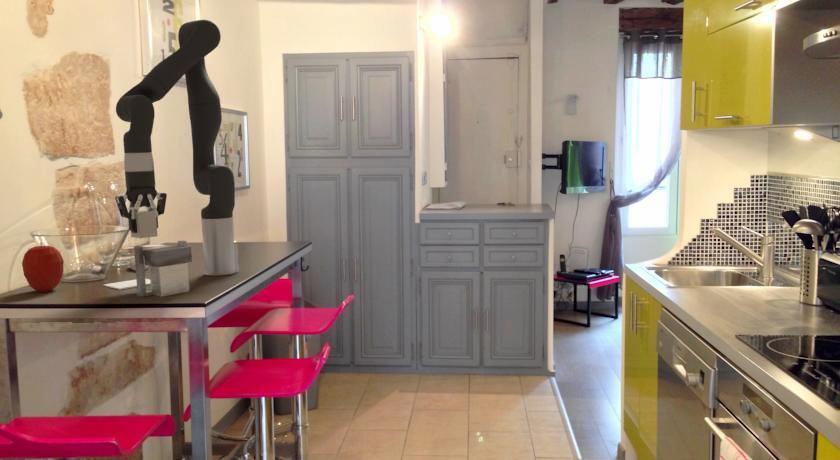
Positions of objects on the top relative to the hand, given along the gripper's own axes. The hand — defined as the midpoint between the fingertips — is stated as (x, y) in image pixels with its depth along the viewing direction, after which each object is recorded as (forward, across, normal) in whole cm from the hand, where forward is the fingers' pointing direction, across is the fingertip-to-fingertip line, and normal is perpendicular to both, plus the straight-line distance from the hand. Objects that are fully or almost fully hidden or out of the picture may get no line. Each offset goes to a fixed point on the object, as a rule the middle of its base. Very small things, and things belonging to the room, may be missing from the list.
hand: (144, 231), depth 193 cm
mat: (+16, 0, +9) cm, 18 cm away
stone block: (+1, 0, 0) cm, 1 cm away
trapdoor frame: (+16, 0, -11) cm, 19 cm away
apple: (+16, -19, +21) cm, 33 cm away
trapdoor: (+8, 0, -6) cm, 10 cm away
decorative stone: (+16, +15, +35) cm, 41 cm away
